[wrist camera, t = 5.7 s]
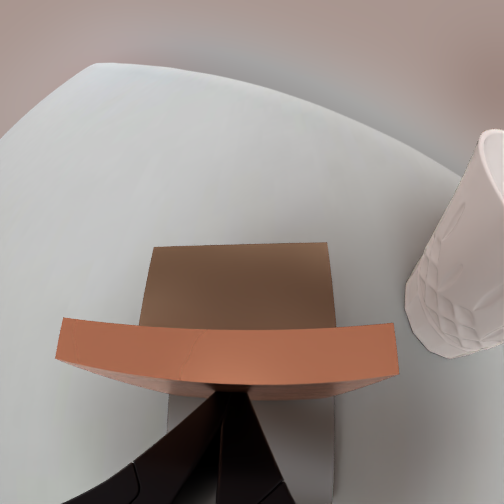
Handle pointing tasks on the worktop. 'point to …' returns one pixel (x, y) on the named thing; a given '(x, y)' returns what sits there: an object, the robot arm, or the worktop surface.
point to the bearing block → (255, 318)
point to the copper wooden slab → (233, 358)
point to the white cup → (464, 263)
